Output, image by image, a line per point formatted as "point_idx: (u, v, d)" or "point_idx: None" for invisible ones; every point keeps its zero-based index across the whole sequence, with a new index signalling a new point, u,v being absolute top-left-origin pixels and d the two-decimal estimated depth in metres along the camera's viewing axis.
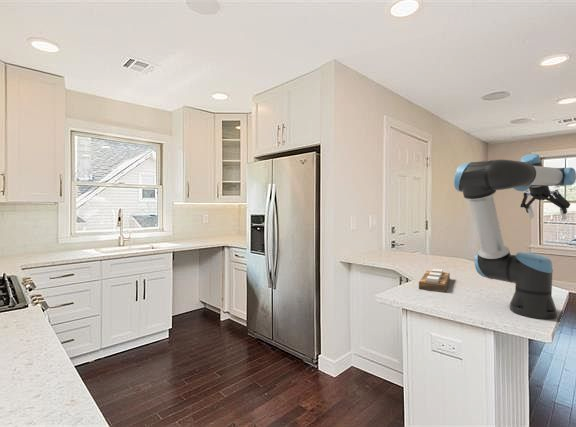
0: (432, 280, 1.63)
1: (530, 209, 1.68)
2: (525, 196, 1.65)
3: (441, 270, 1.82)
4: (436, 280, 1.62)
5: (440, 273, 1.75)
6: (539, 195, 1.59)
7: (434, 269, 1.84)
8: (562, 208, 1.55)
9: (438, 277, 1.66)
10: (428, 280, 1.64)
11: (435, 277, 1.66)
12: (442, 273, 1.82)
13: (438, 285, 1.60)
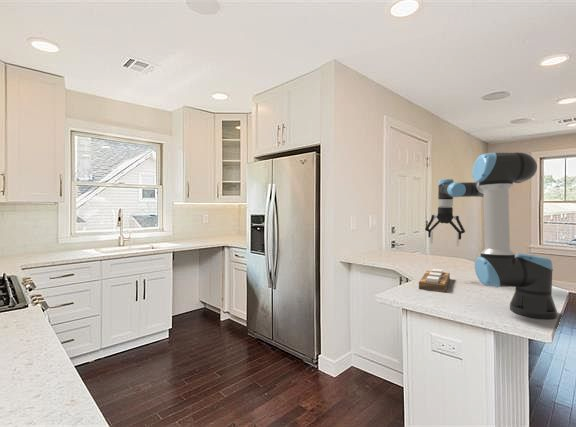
0: (432, 280, 1.63)
1: (432, 234, 1.86)
2: (432, 218, 1.84)
3: (441, 270, 1.82)
4: (436, 280, 1.62)
5: (440, 273, 1.75)
6: (444, 218, 1.81)
7: (434, 269, 1.84)
8: (459, 232, 1.77)
9: (438, 277, 1.66)
10: (428, 280, 1.64)
11: (435, 277, 1.66)
12: (442, 273, 1.82)
13: (438, 285, 1.60)
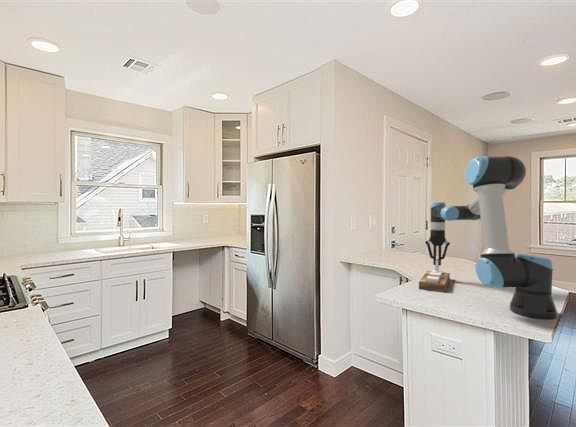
0: (432, 280, 1.63)
1: None
2: (428, 244, 1.84)
3: (441, 271, 1.82)
4: (436, 280, 1.62)
5: (440, 273, 1.75)
6: (436, 239, 1.81)
7: (434, 270, 1.84)
8: (439, 258, 1.81)
9: (438, 277, 1.66)
10: (428, 280, 1.64)
11: (435, 277, 1.66)
12: (442, 274, 1.82)
13: (438, 285, 1.60)
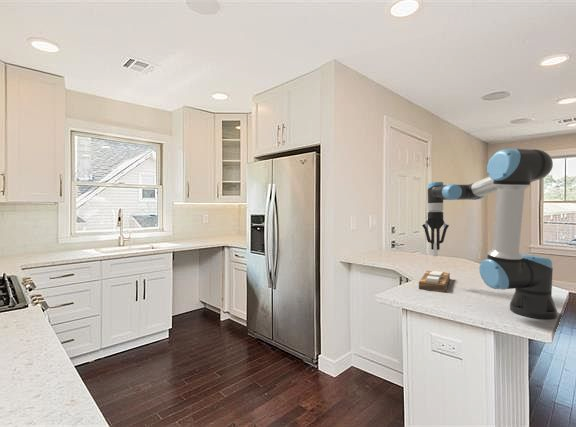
0: (432, 280, 1.63)
1: None
2: (425, 227, 1.72)
3: (441, 272, 1.82)
4: (436, 280, 1.62)
5: (440, 273, 1.75)
6: (434, 222, 1.70)
7: (434, 271, 1.84)
8: (437, 242, 1.69)
9: (438, 277, 1.66)
10: (428, 280, 1.64)
11: (435, 277, 1.66)
12: None
13: (438, 285, 1.60)
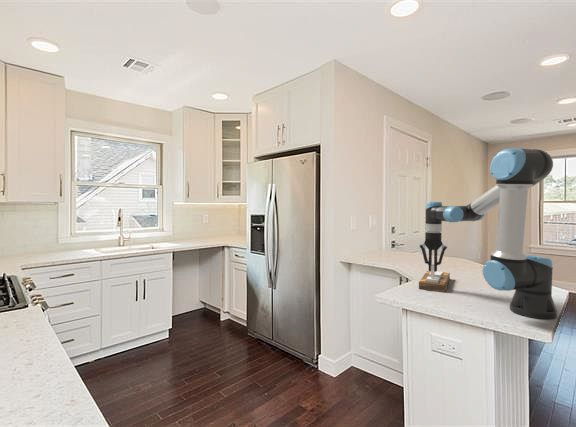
0: (432, 281, 1.63)
1: None
2: (422, 248, 1.66)
3: (441, 272, 1.82)
4: (436, 281, 1.62)
5: (440, 273, 1.75)
6: (432, 243, 1.64)
7: None
8: (435, 264, 1.64)
9: (438, 278, 1.66)
10: (428, 281, 1.64)
11: (435, 278, 1.66)
12: None
13: (438, 285, 1.60)
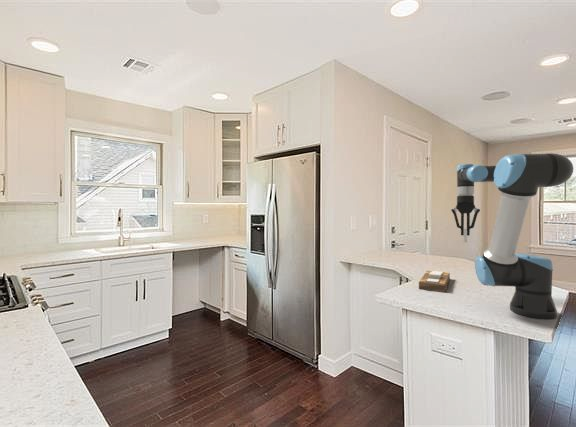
0: None
1: None
2: (454, 212, 1.64)
3: (441, 272, 1.82)
4: None
5: (440, 273, 1.75)
6: (464, 206, 1.62)
7: (434, 271, 1.84)
8: (468, 228, 1.61)
9: (438, 279, 1.66)
10: None
11: (435, 279, 1.66)
12: None
13: (438, 285, 1.60)
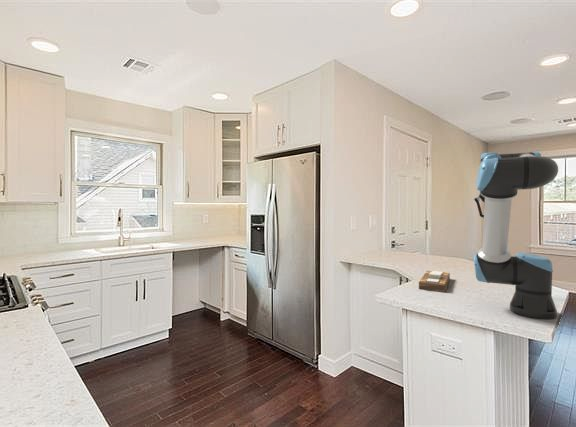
0: None
1: None
2: (477, 201, 1.63)
3: (441, 272, 1.82)
4: None
5: (440, 273, 1.75)
6: None
7: (434, 271, 1.84)
8: None
9: (438, 279, 1.66)
10: None
11: (435, 279, 1.66)
12: None
13: (438, 285, 1.60)
